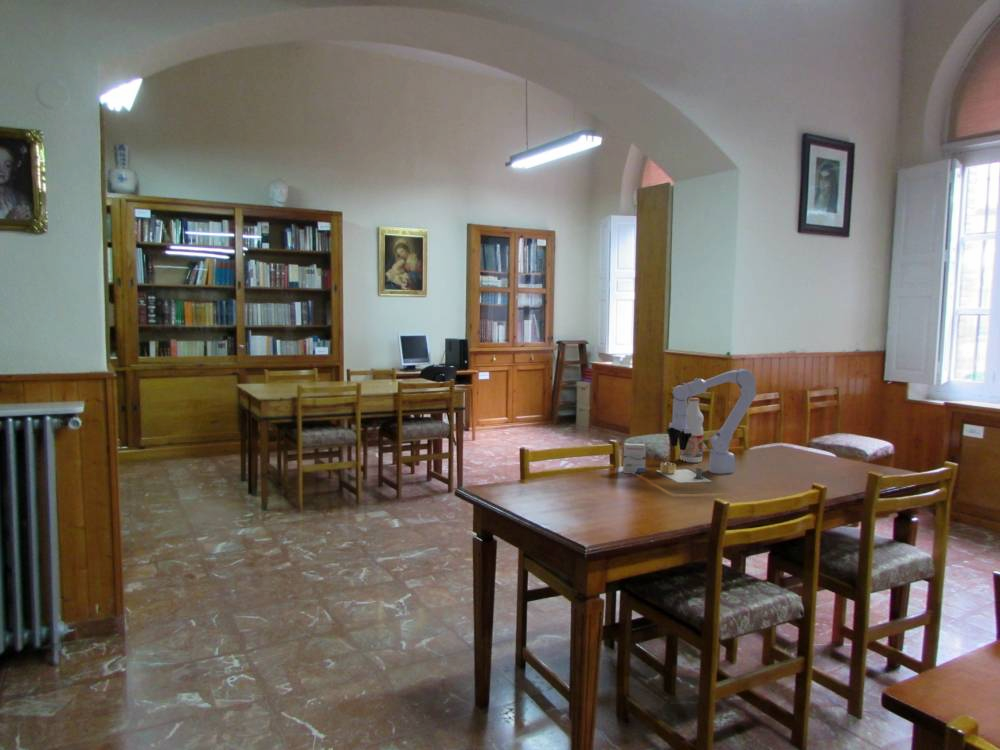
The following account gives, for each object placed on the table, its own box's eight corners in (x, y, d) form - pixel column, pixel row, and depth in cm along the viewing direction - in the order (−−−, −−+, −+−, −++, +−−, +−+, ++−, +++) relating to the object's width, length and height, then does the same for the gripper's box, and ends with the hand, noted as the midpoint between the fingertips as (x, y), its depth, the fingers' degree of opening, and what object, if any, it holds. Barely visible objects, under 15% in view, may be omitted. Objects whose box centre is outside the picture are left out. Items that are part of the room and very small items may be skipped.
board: (687, 471, 273) (687, 459, 273) (712, 483, 254) (712, 471, 253) (655, 472, 270) (656, 460, 270) (678, 485, 251) (678, 472, 250)
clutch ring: (671, 469, 269) (671, 462, 269) (677, 472, 264) (678, 465, 263) (658, 470, 268) (658, 462, 268) (664, 473, 263) (664, 465, 262)
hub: (670, 471, 269) (671, 460, 268) (676, 474, 264) (676, 463, 264) (659, 471, 268) (660, 460, 267) (665, 474, 263) (665, 463, 263)
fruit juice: (677, 458, 300) (680, 396, 297) (698, 458, 300) (701, 397, 297) (682, 462, 291) (685, 399, 288) (704, 463, 290) (707, 399, 288)
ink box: (643, 471, 272) (644, 443, 271) (645, 474, 267) (646, 445, 266) (622, 471, 272) (623, 442, 271) (623, 473, 267) (624, 444, 266)
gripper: (662, 412, 278) (661, 444, 279) (678, 417, 263) (677, 451, 265) (678, 412, 279) (677, 444, 280) (695, 417, 265) (693, 451, 266)
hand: (678, 447), depth 272 cm, fingers open, 7 cm apart
